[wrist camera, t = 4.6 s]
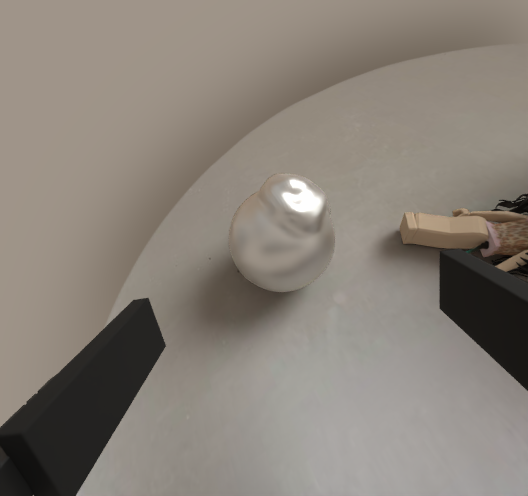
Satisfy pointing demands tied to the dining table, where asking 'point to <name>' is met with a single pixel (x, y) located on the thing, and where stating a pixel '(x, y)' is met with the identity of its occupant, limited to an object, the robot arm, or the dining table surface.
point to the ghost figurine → (283, 234)
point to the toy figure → (475, 232)
